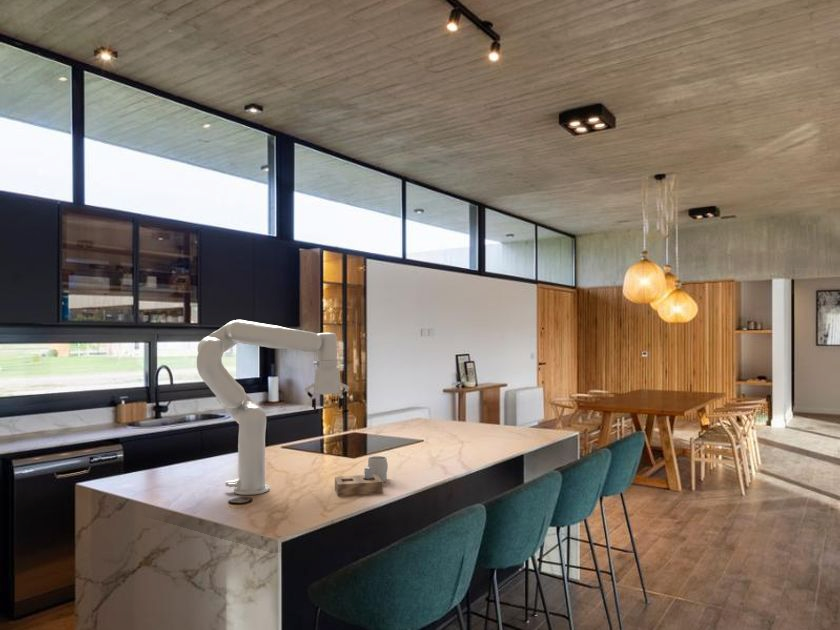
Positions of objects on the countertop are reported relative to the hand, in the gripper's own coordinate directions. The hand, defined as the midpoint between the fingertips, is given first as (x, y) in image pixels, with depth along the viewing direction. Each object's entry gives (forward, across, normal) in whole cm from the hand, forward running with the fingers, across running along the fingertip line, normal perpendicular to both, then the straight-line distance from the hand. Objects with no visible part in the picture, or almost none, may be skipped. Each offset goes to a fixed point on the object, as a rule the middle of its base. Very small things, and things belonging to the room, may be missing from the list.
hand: (327, 408), depth 238 cm
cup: (+28, +20, -2) cm, 35 cm away
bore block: (+28, +10, -15) cm, 34 cm away
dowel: (+27, +14, -15) cm, 34 cm away
